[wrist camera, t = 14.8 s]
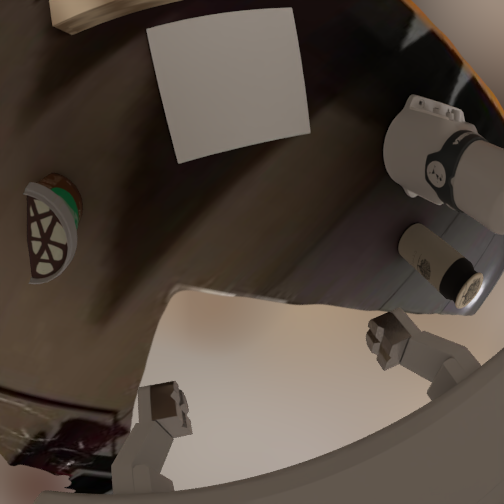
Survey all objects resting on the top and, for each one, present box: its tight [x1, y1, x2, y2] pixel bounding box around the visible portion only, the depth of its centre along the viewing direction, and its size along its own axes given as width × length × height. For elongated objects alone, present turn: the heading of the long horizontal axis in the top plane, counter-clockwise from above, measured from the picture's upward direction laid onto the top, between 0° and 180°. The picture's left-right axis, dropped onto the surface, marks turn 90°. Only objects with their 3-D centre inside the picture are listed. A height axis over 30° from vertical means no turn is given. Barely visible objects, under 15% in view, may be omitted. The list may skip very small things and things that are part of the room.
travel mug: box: [398, 223, 483, 308], centre depth 48 cm, size 8×8×18 cm
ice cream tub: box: [23, 173, 83, 284], centre depth 31 cm, size 12×6×10 cm, turn 161°
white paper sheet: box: [146, 8, 310, 164], centre depth 32 cm, size 18×18×1 cm
